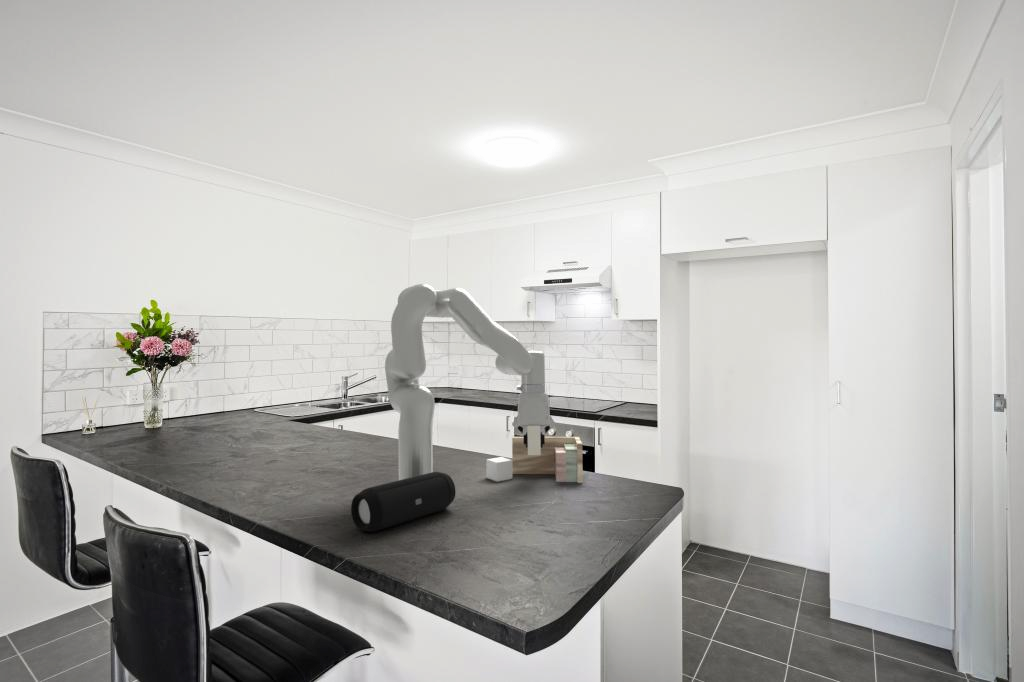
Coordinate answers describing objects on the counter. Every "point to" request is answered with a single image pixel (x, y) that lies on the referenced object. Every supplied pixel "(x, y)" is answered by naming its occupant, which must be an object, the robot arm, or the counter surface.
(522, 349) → the robot arm
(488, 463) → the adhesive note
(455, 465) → the counter surface
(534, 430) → the white block
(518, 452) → the wide wooden block
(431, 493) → the portable speaker
